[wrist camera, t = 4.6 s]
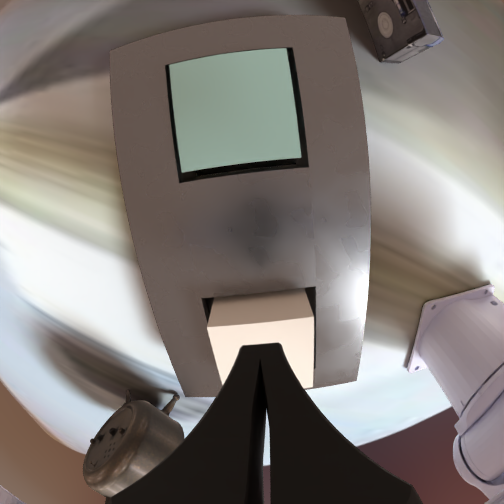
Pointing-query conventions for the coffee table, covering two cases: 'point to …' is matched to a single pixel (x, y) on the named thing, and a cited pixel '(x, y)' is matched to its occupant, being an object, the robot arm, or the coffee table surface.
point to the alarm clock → (130, 445)
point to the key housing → (249, 195)
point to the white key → (264, 328)
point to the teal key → (234, 109)
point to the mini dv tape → (401, 28)
